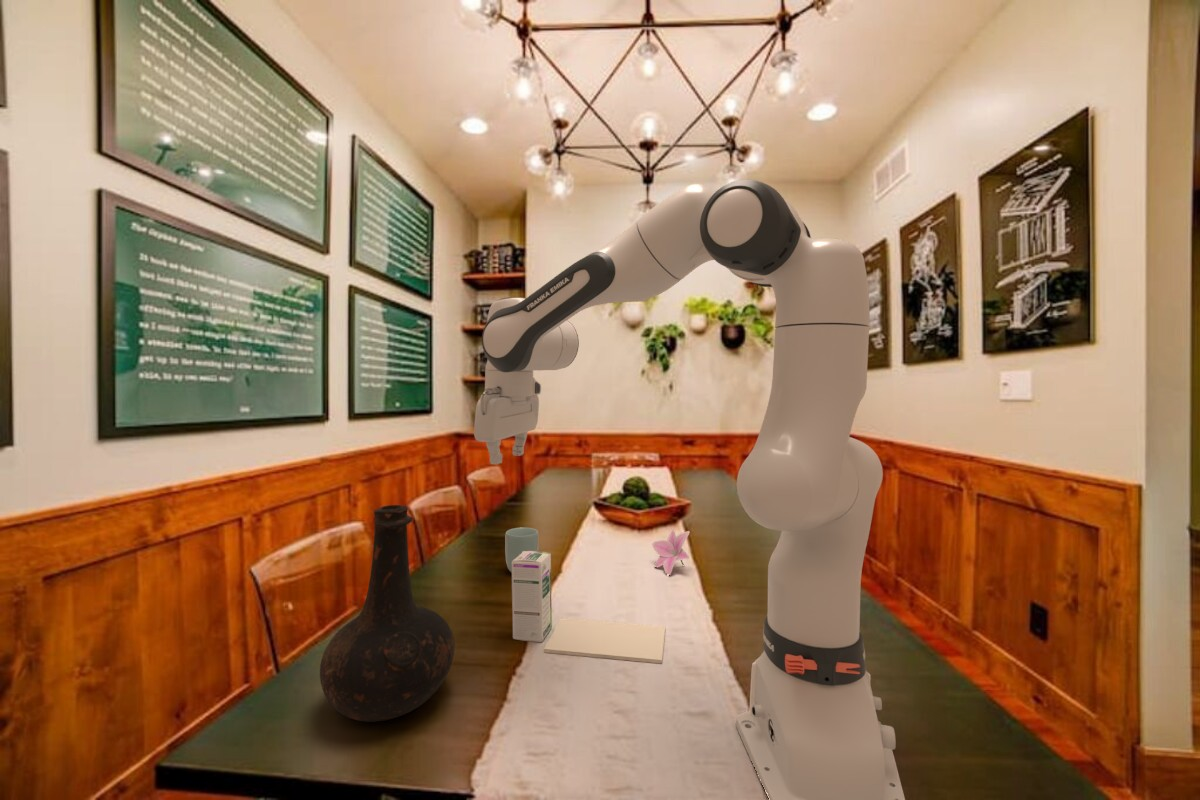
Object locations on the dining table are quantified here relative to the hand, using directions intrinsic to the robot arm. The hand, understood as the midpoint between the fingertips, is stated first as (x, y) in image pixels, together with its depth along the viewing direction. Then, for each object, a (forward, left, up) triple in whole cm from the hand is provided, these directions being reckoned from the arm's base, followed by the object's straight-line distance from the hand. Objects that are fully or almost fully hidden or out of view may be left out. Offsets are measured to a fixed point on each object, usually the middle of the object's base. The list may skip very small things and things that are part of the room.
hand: (507, 459), depth 97 cm
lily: (+36, -30, -32) cm, 57 cm away
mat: (-3, -20, -32) cm, 37 cm away
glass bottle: (-26, +8, -32) cm, 42 cm away
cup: (+27, +6, -32) cm, 42 cm away
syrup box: (-3, -6, -32) cm, 32 cm away
